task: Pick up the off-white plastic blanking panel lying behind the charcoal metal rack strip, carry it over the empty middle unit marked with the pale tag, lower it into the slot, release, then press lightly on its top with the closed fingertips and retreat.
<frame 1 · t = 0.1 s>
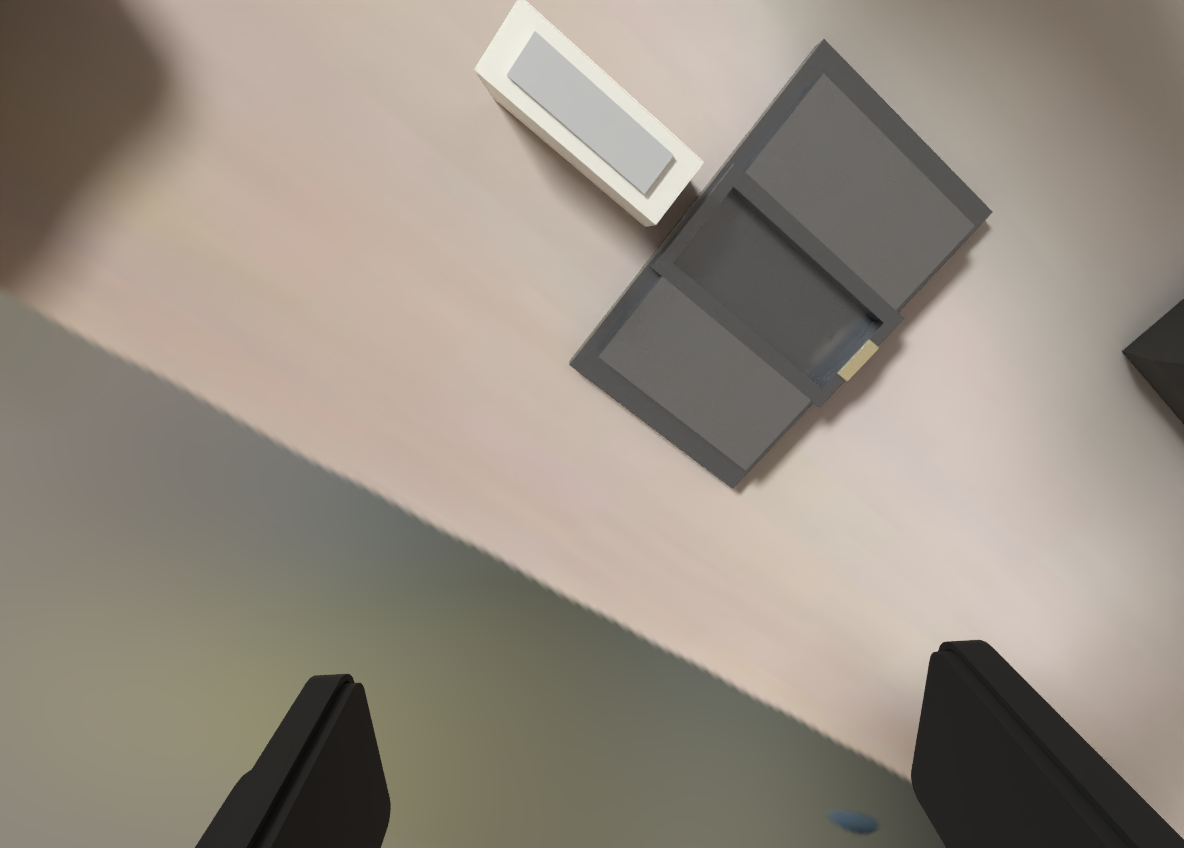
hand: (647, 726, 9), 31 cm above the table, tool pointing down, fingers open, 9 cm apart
rack: (767, 289, 37), on the table
blanking panel: (590, 136, 35), on the table
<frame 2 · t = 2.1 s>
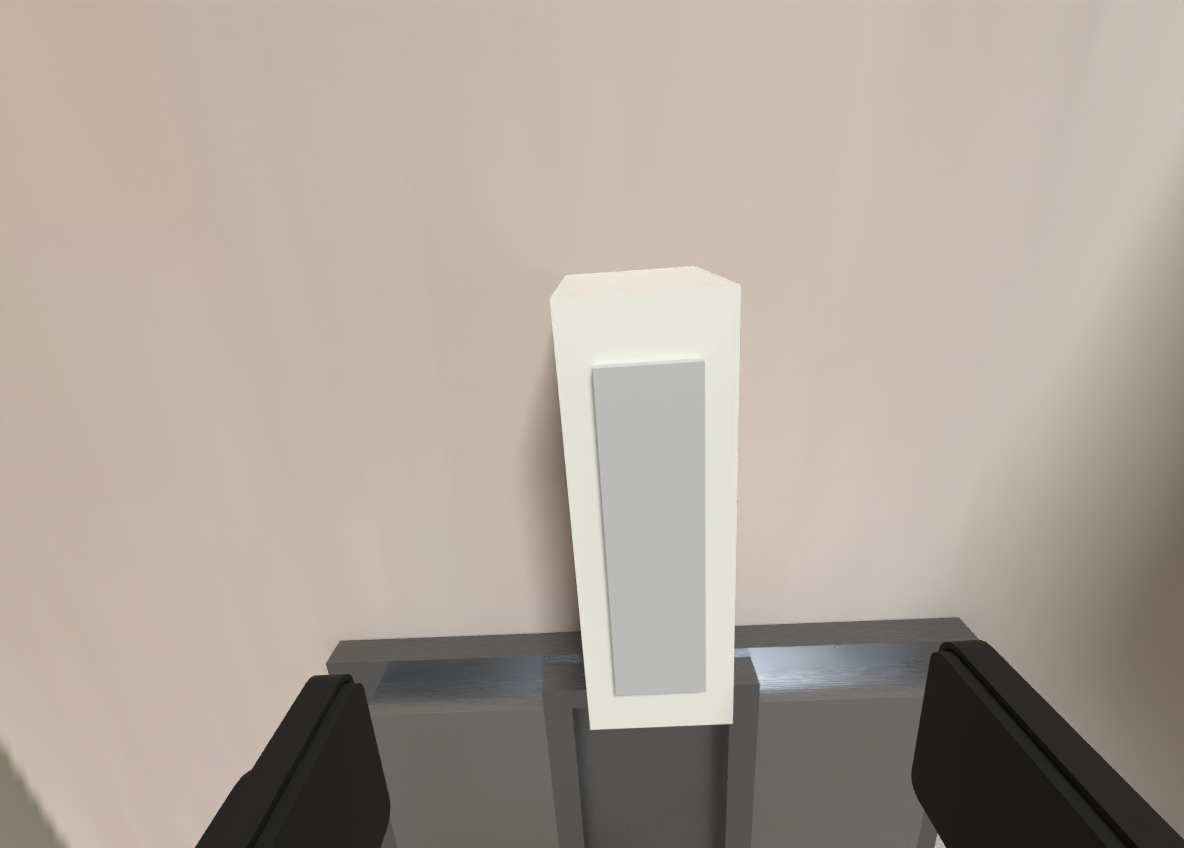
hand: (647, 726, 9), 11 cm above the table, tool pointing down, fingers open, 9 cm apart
rack: (648, 771, 24), on the table
blanking panel: (638, 448, 19), on the table
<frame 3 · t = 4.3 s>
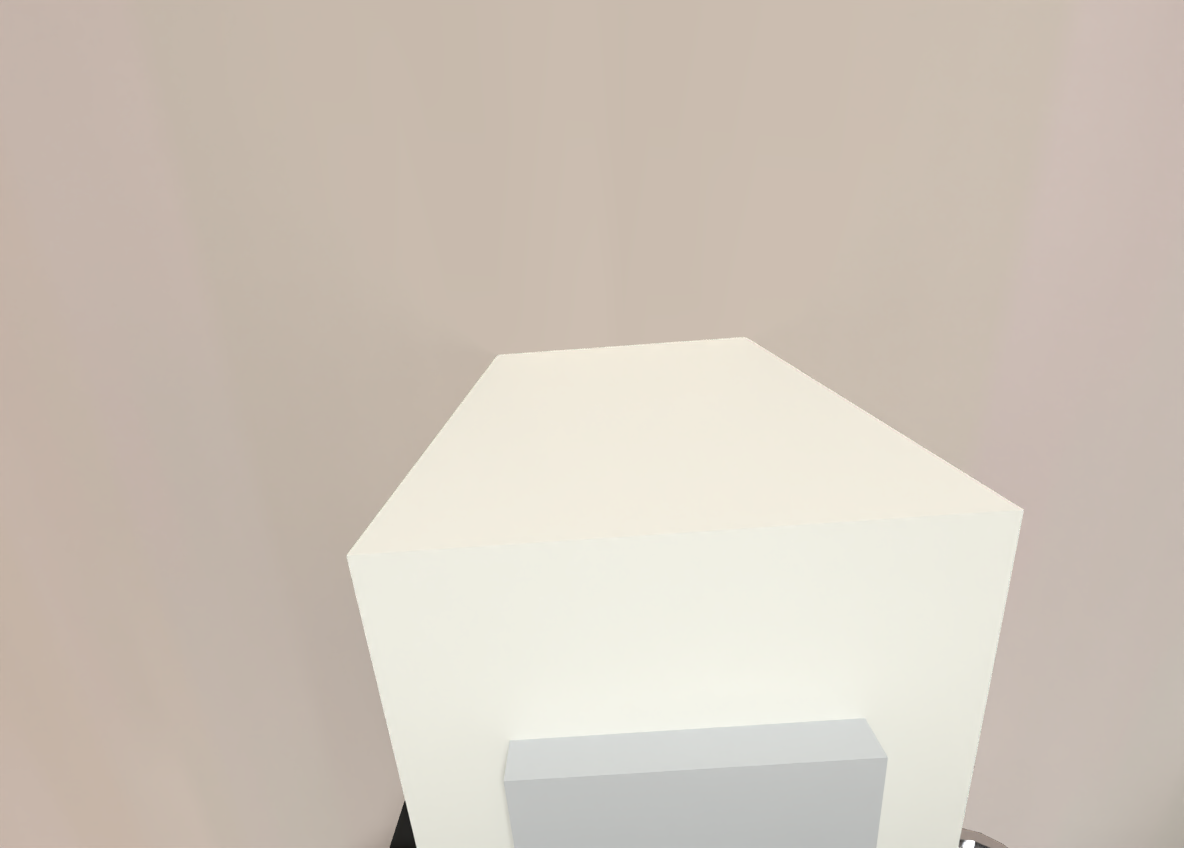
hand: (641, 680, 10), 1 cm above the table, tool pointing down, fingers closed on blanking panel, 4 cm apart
blanking panel: (637, 650, 11), on the table, touching gripper
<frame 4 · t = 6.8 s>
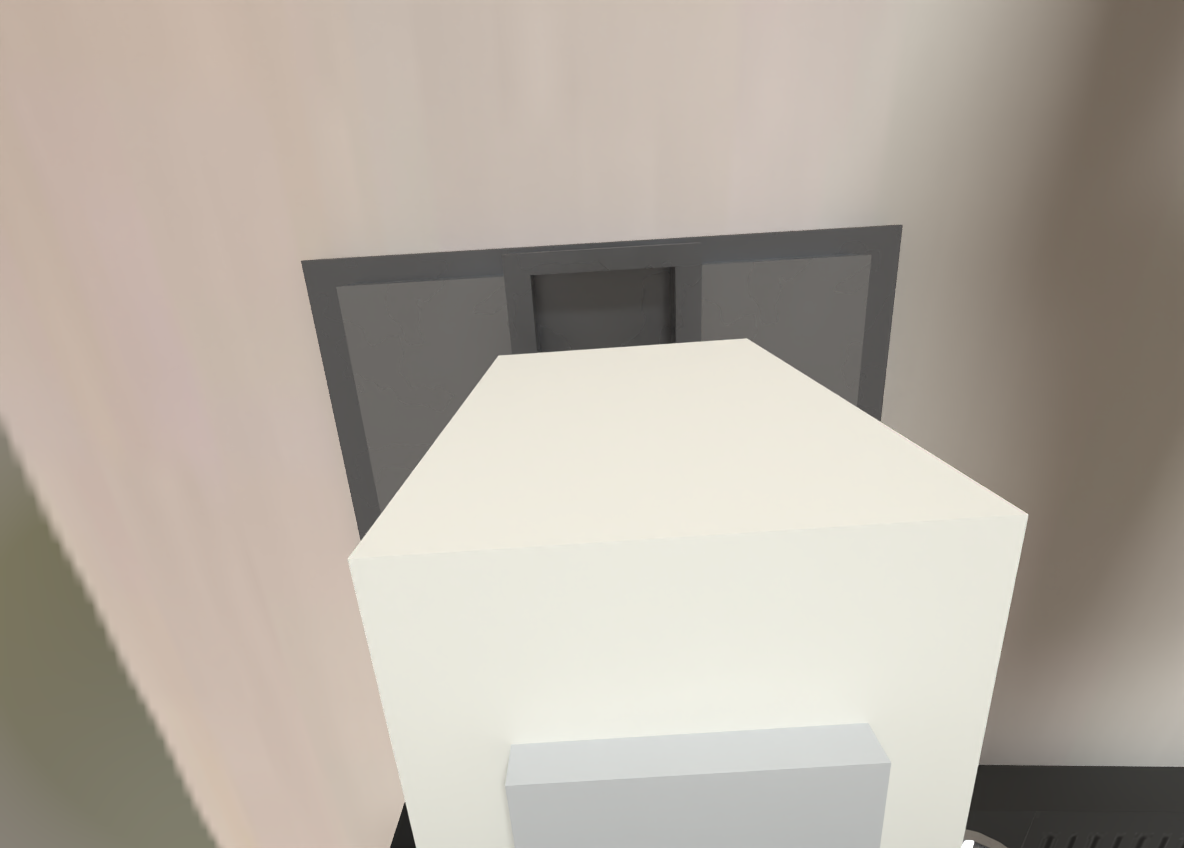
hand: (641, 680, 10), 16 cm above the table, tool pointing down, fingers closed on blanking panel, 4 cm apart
rack: (608, 413, 26), on the table
blanking panel: (638, 651, 11), point 16 cm above the table, touching gripper
when the fingers open (4 cm above the table, at t = 9.7 s): blanking panel drops 2 cm, resting on rack.
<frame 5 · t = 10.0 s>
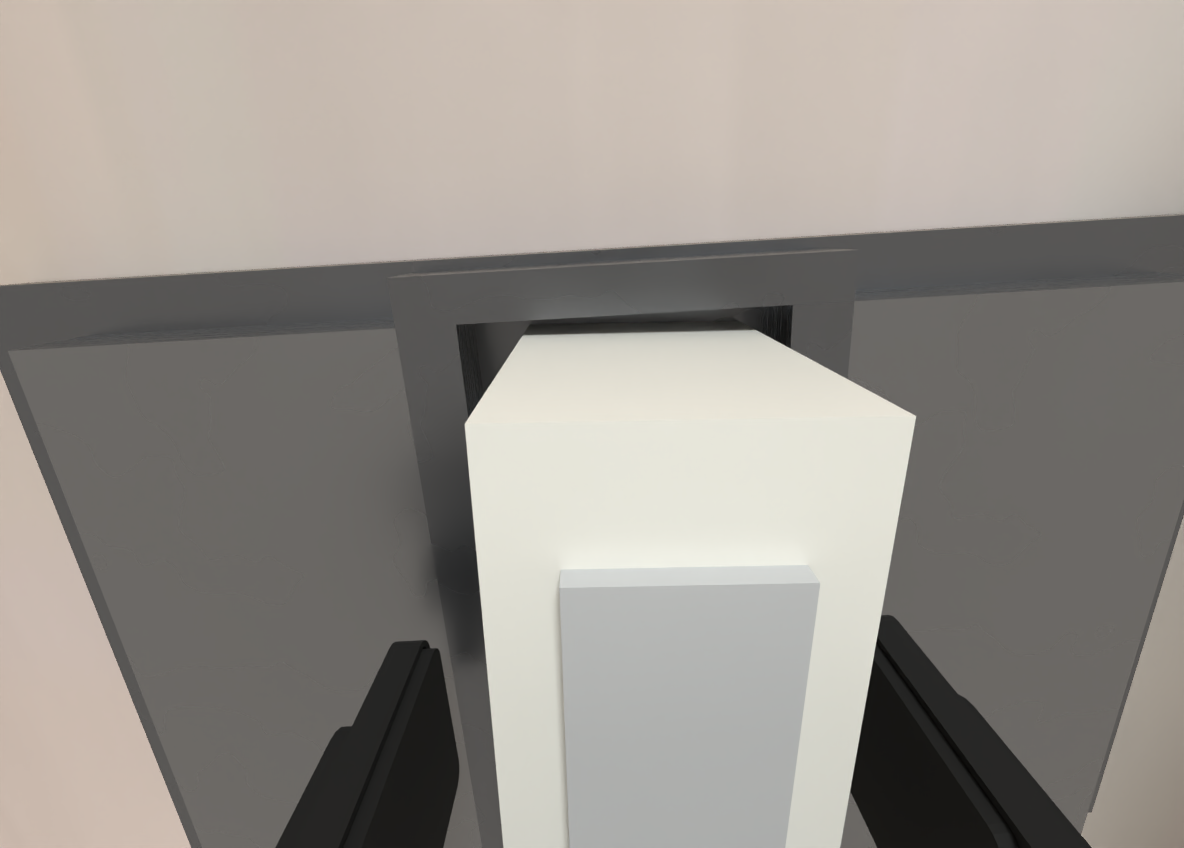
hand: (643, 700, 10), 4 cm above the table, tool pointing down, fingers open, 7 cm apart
rack: (627, 567, 14), on the table
blanking panel: (632, 591, 13), point 1 cm above the table, touching rack
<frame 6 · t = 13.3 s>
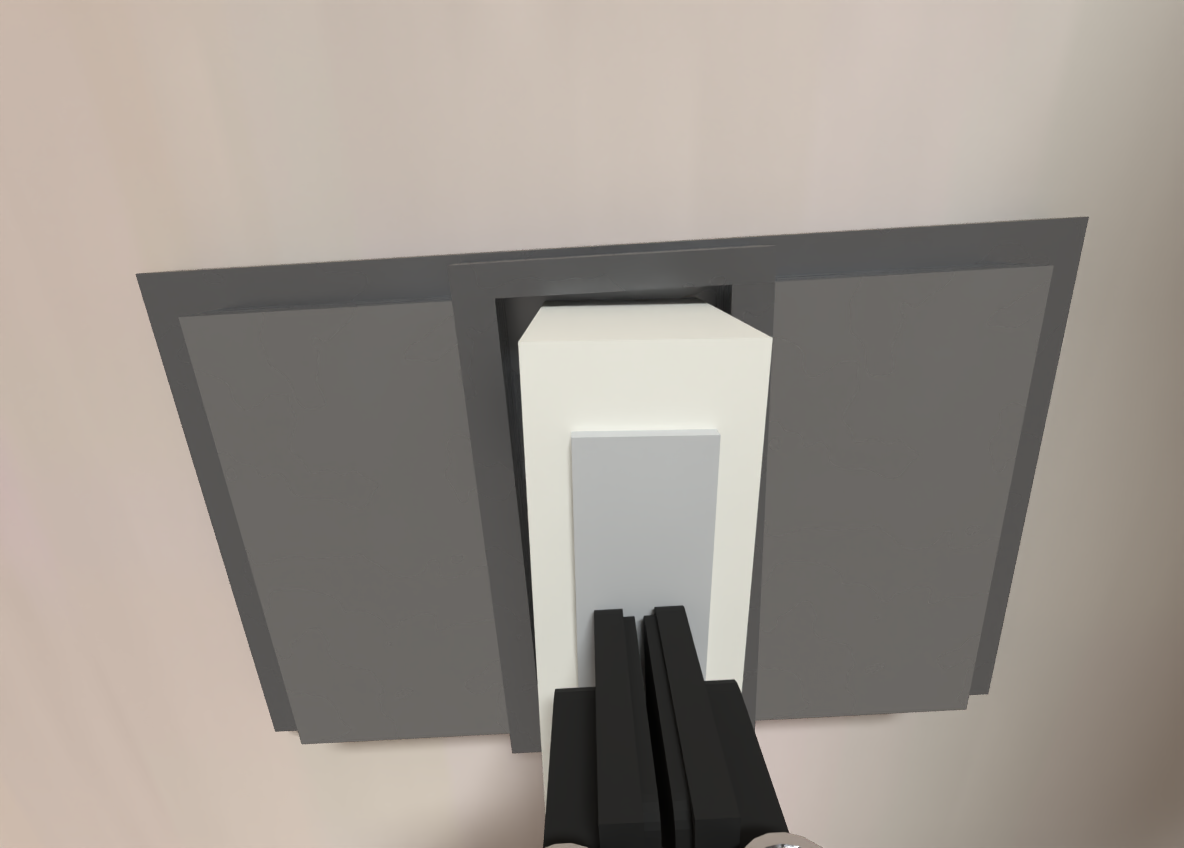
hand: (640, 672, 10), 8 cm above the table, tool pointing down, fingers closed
rack: (618, 495, 18), on the table
blanking panel: (621, 508, 16), point 1 cm above the table, touching gripper, rack
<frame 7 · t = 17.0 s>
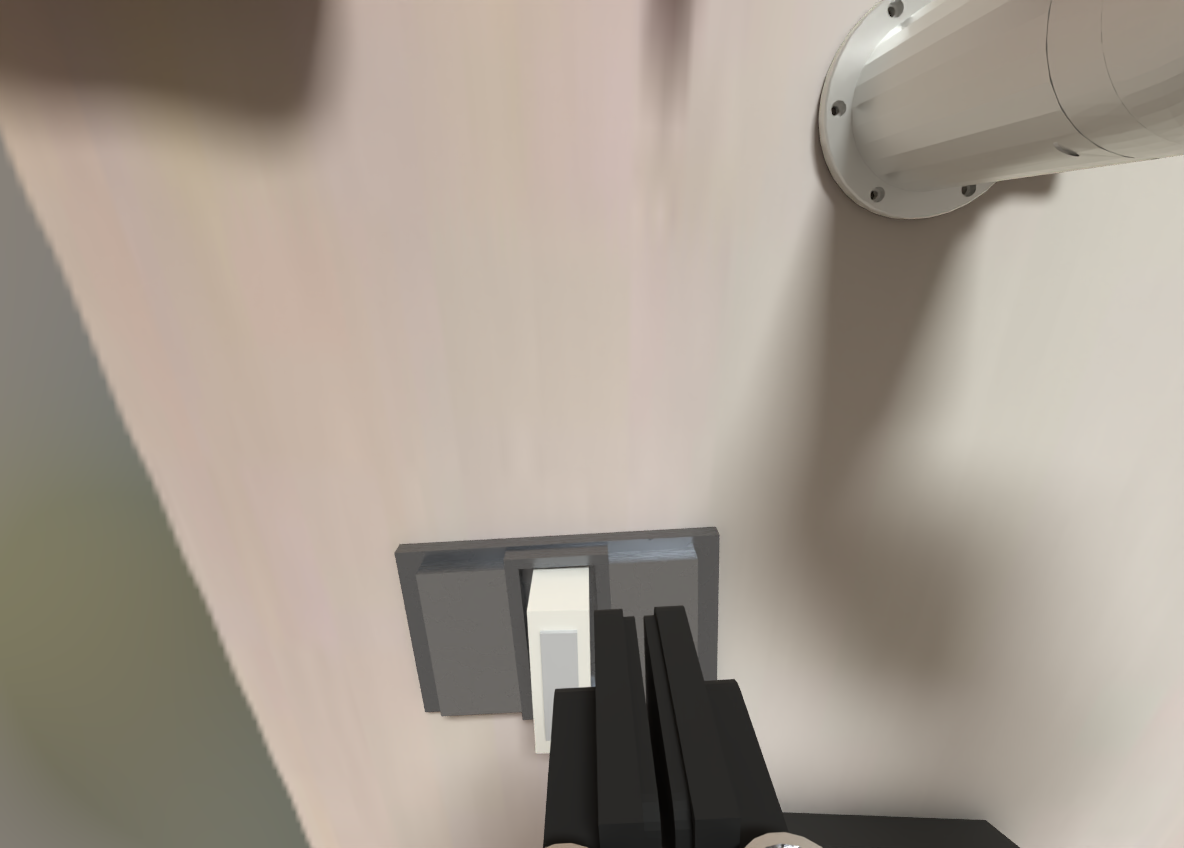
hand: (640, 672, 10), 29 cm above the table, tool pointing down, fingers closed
rack: (564, 618, 45), on the table
blanking panel: (564, 626, 43), point 1 cm above the table, touching rack
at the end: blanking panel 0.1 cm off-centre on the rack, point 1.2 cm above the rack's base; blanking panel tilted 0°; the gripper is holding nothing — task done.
